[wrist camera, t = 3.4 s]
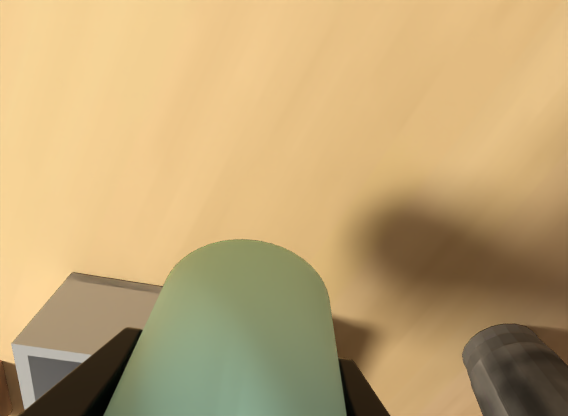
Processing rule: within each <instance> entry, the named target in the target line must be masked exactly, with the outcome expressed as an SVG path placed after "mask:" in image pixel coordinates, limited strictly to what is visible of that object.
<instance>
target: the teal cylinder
mask: <svg viewBox="0 0 568 416" xmlns="http://www.w3.org/2000/svg"><path fill="white" fill-rule="evenodd" d="M103 416H347V415H346V408H345V401H344V394H343V388H342V381H341V374H340V367H339V361H338V354H337V347H336V340H335V334H334V327H333V320H332V314H331V307H330V300H329V296H328V292H327V289H326V287H325V284H324V282H323V280H322V279H321V277H320V276H319V274H318V273H317V272H316V271H315V270H314V269H313V267H312V266H311V265H310V264H308V263H307V262H306V261H305V260H304V259H302V258H301V257H299V256H298V255H296V254H295V253H293V252H291V251H289V250H287V249H285V248H283V247H280V246H277V245H274V244H271V243H267V242H262V241H256V240H244V239H235V240H226V241H220V242H216V243H212V244H209V245H206V246H204V247H201V248H199V249H197V250H195V251H193V252H191V253H190V254H188V255H187V256H186V257H184V258H183V259H182V260H181V261H180V262H179V263H178V264H176V266H175V267H174V268H173V269H172V271H171V272H170V274H169V275H168V277H167V279H166V281H165V283H164V285H163V288H162V290H161V292H160V294H159V296H158V298H157V301H156V303H155V305H154V307H153V309H152V311H151V314H150V316H149V318H148V320H147V322H146V324H145V327H144V329H143V331H142V333H141V335H140V337H139V340H138V342H137V344H136V346H135V348H134V350H133V353H132V355H131V357H130V359H129V361H128V363H127V366H126V368H125V370H124V372H123V374H122V376H121V379H120V381H119V383H118V385H117V387H116V389H115V392H114V394H113V396H112V398H111V400H110V402H109V405H108V407H107V409H106V411H105V413H104V415H103Z"/></svg>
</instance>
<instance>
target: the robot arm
mask: <svg viewBox="0 0 568 416" xmlns="http://www.w3.org/2000/svg"><path fill="white" fill-rule="evenodd" d="M142 331H143V330H142V329H140V328H133V327H126V328H124V329H123V330H122V331H120V332H119V333H118V334H117V335H116V336H114V337H113V338H112V339H111V340H110V341H108V342H107V343H106V344H105V345H103V346H102V347H101V348H100V349H99V350H97V351H96V352H95V353H94V354H92V355H91V356H90V357H89V358H88V359H86V360H85V361H84V362H83V363H82V364H80V365H79V366H78V367H77V368H75V369H74V370H73V371H72V372H71V373H69V374H68V375H67V376H66V377H64V378H63V379H62V380H61V381H60V382H58V383H57V384H56V385H55V386H54V387H52V388H51V389H50V390H49V391H47V392H46V393H45V394H44V395H43V396H41V397H40V398H39V399H38V400H36V401H35V402H34V403H33V404H32V405H30V406H29V407H28V408H27V409H25V410H24V411H23V412H22V413H21V414H19V415H18V416H103V415H104V413H105V411H106V409H107V407H108V405H109V402H110V400H111V398H112V396H113V394H114V392H115V389H116V387H117V385H118V383H119V381H120V379H121V376H122V374H123V372H124V370H125V368H126V366H127V363H128V361H129V359H130V357H131V355H132V353H133V350H134V348H135V346H136V344H137V342H138V340H139V337H140V335H141V333H142ZM338 361H339V367H340V374H341V381H342V388H343V394H344V401H345V408H346V415H347V416H390V415H389V413H388V412H387V410H386V409H385V407H384V406H383V404H382V403H381V401H380V400H379V398H378V397H377V395H376V394H375V392H374V391H373V389H372V388H371V386H370V385H369V383H368V382H367V380H366V379H365V377H364V376H363V374H362V373H361V371H360V370H359V368H358V367H357V365H356V364H355V362H354V361H353V360H351V359H346V358H338Z"/></svg>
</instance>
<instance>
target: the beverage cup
mask: <svg viewBox="0 0 568 416" xmlns="http://www.w3.org/2000/svg"><path fill="white" fill-rule="evenodd" d="M462 357H463V363H464V365H465V367H466V369H467V372H468V375H469V378H470V381H471V386H472V389H473V391H474V394H475V396H476V399H477V401H478V404H479V406H480V409H481V412H482V414H483V416H568V366H567V365H566V364H565V363H564V362H563V361H562V360H561V359H560V358H559V356H558V355H557V354H556V353H555V352H554V351H552V350H551V349H549V348H548V347H547V346H546V345H545V344H544V343H543V342H542V341H541V340H540V339H539V338H538V337H537V336H536V334H535V333H534V332H533V331H531V330H530V329H529V328H527V327H525V326H521V325H517V324H501V325H497V326H492V327H490V328H487V329H485V330H483V331H481V332H479V333H478V334H476V335H475V336H474V337H473V338H471V339H470V340H469V342H468V343H467V344H466V346H465V347H464V351H463V354H462Z"/></svg>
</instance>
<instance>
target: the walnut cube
mask: <svg viewBox="0 0 568 416" xmlns="http://www.w3.org/2000/svg"><path fill="white" fill-rule="evenodd" d="M11 411H12V405H11V400H10V396H9V391H8V386H7V382H6V377H5V372H4V368H3V363H2V361H1V360H0V416H8V415H9V414H10V413H11Z"/></svg>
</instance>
